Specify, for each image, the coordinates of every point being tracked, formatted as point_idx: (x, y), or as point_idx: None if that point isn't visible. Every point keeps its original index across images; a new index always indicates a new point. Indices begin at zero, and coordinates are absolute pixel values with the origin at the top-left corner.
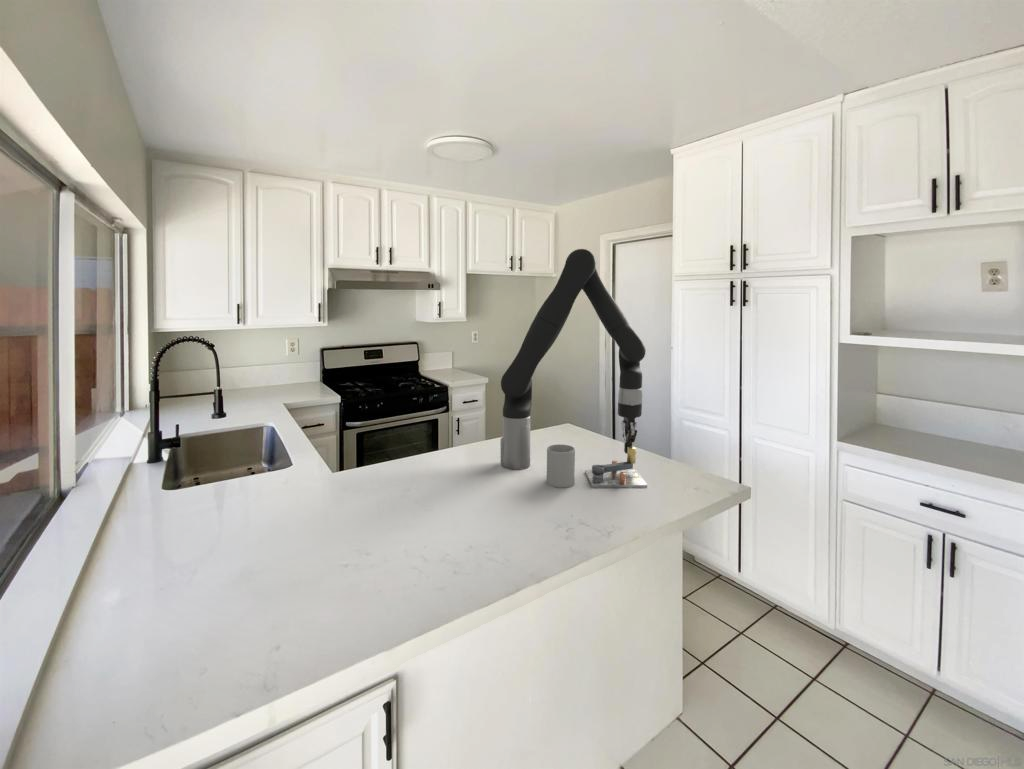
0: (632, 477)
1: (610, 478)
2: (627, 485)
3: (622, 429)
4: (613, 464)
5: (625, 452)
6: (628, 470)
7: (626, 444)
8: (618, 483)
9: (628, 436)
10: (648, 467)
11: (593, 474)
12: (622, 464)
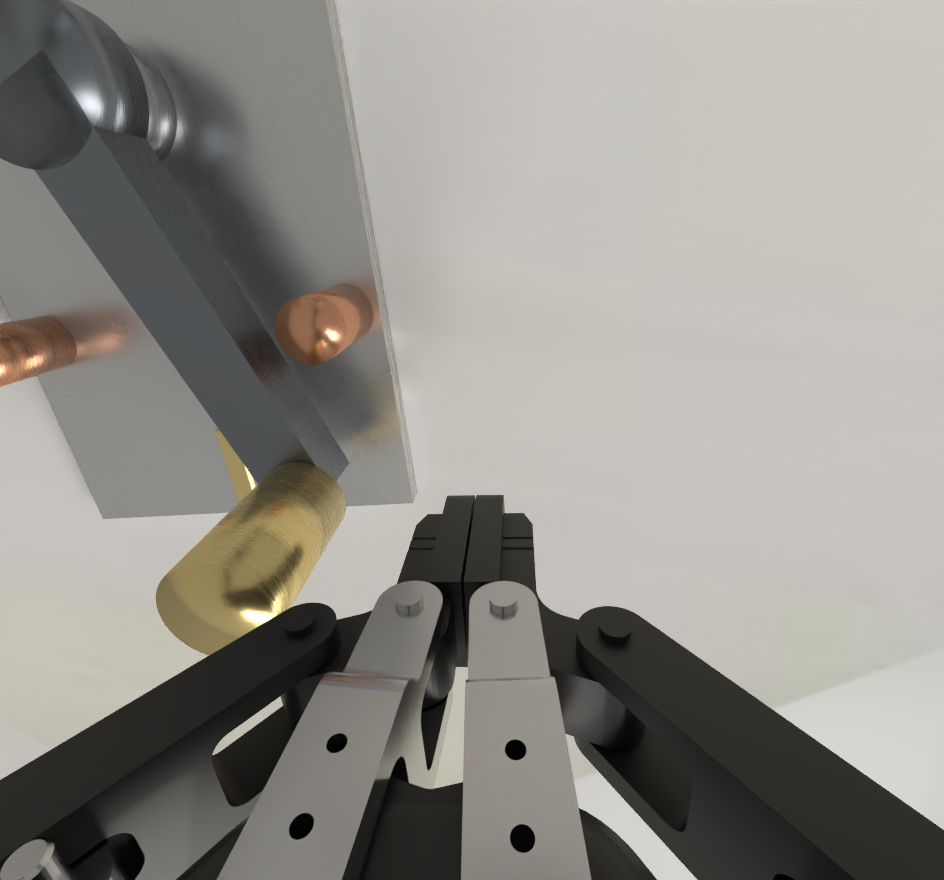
0: (223, 446)
1: None
2: (43, 378)
3: (778, 743)
4: (173, 301)
5: (448, 501)
6: (388, 444)
7: (430, 577)
8: (38, 308)
9: (84, 735)
10: (542, 600)
11: None
12: (206, 403)
